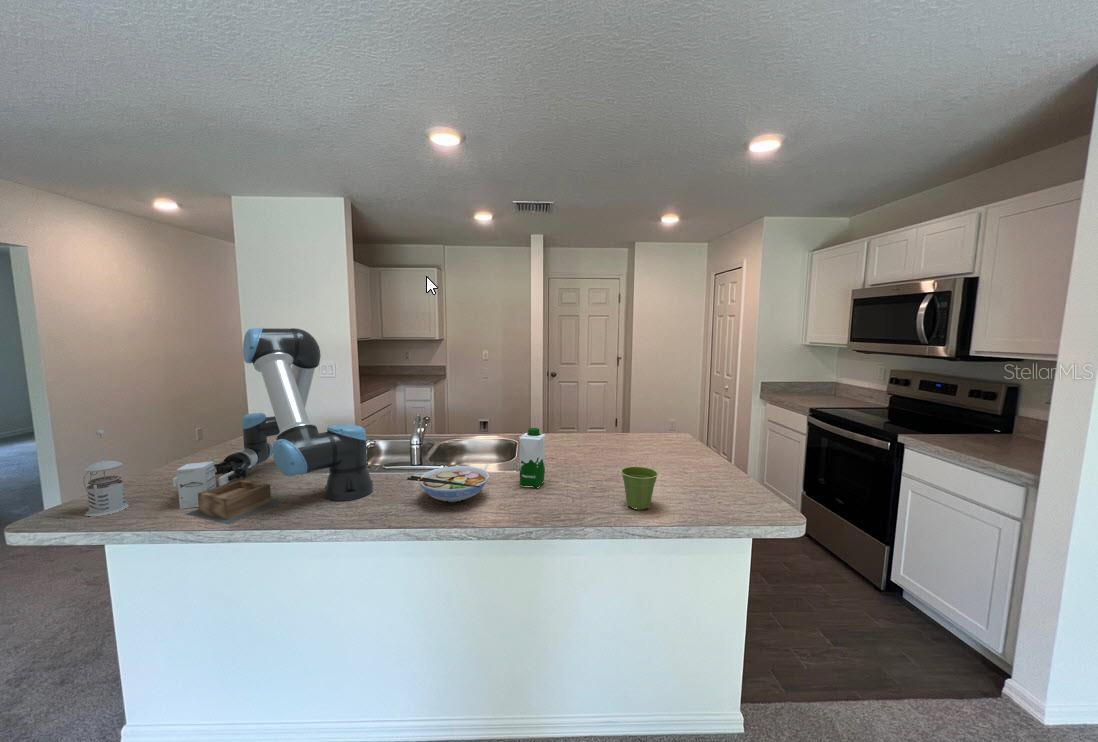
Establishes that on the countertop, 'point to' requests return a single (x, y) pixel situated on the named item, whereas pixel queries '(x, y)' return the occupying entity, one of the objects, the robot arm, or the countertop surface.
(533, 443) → the milk carton
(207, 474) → the supplement box
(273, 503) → the mat
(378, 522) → the countertop surface
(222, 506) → the tray
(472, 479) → the ramen bowl
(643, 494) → the plant pot
